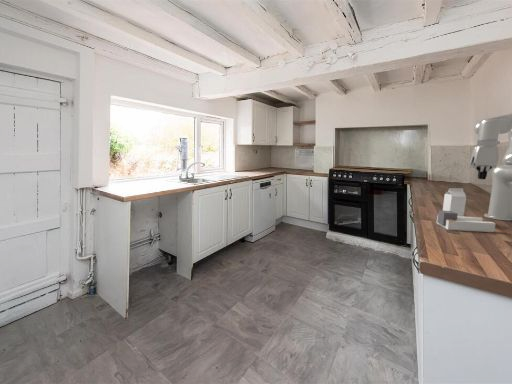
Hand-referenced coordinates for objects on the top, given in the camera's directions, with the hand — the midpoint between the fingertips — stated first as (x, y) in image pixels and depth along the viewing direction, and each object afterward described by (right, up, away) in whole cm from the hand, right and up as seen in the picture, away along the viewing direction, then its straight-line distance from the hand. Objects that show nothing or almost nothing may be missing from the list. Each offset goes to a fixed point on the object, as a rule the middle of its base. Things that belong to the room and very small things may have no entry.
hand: (481, 178), depth 126 cm
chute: (-10, -26, -1) cm, 28 cm away
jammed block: (-18, -24, +1) cm, 30 cm away
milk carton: (-6, -24, +12) cm, 27 cm away
